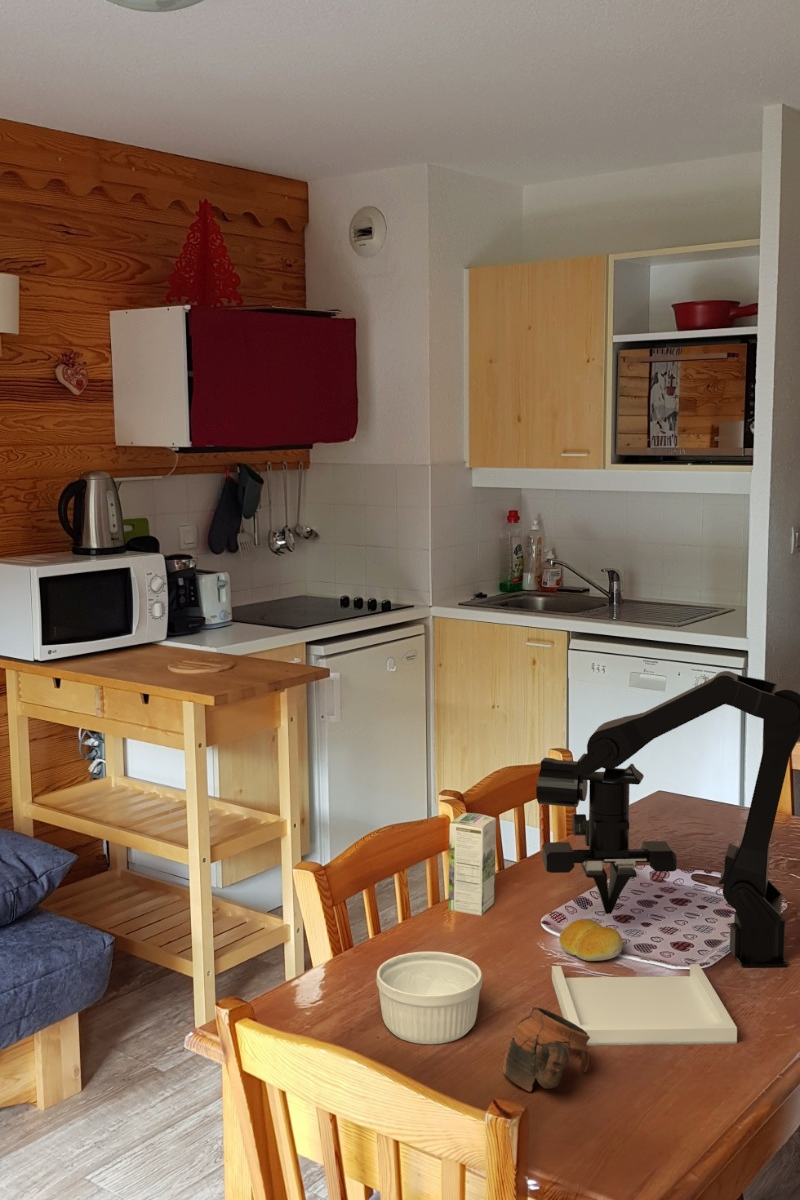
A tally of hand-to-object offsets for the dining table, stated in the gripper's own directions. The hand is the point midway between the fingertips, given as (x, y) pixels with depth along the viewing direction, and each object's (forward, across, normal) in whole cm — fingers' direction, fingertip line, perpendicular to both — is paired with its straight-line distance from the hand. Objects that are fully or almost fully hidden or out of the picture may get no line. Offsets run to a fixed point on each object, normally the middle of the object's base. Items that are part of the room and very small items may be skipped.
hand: (607, 912), depth 176 cm
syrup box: (+4, +19, -12) cm, 23 cm away
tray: (+4, 0, +22) cm, 23 cm away
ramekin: (+4, +27, +26) cm, 37 cm away
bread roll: (+4, 0, +6) cm, 7 cm away
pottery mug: (+5, +15, +40) cm, 44 cm away
